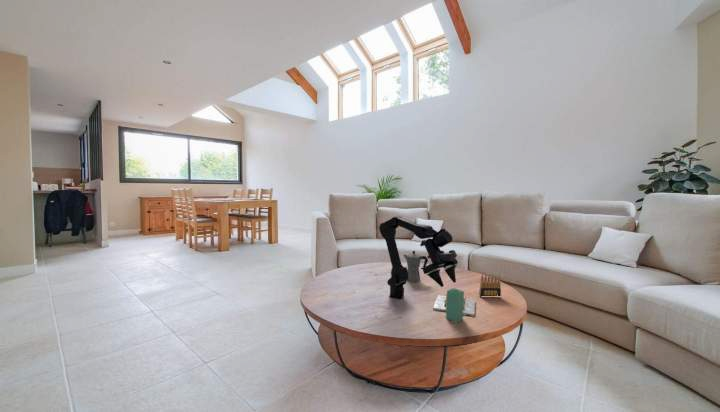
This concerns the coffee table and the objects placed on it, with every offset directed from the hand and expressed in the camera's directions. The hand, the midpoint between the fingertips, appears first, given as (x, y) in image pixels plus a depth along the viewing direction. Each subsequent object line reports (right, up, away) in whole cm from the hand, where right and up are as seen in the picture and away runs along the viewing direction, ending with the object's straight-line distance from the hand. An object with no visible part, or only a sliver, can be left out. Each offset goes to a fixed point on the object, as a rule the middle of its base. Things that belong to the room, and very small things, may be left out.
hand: (448, 284), depth 131 cm
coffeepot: (-5, -11, +52) cm, 54 cm away
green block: (+2, -15, 0) cm, 15 cm away
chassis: (+7, -14, +14) cm, 21 cm away
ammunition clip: (+29, -14, +27) cm, 42 cm away
